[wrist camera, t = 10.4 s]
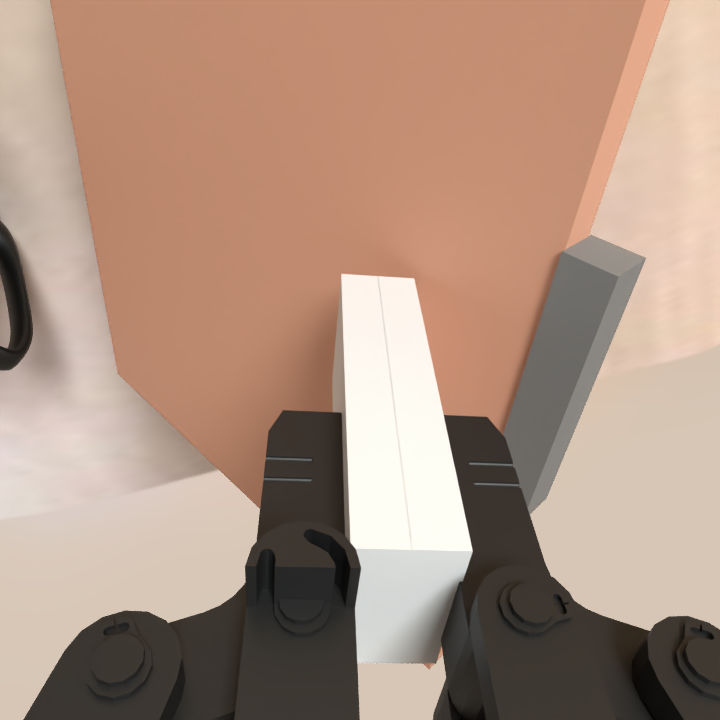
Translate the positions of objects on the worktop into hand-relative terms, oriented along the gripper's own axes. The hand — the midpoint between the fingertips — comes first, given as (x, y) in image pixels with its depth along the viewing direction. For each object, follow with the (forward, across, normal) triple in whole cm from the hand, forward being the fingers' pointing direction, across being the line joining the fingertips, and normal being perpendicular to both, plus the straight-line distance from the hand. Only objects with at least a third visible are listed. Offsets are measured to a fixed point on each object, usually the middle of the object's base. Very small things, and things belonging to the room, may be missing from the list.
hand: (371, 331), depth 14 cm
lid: (+5, -2, 0) cm, 6 cm away
